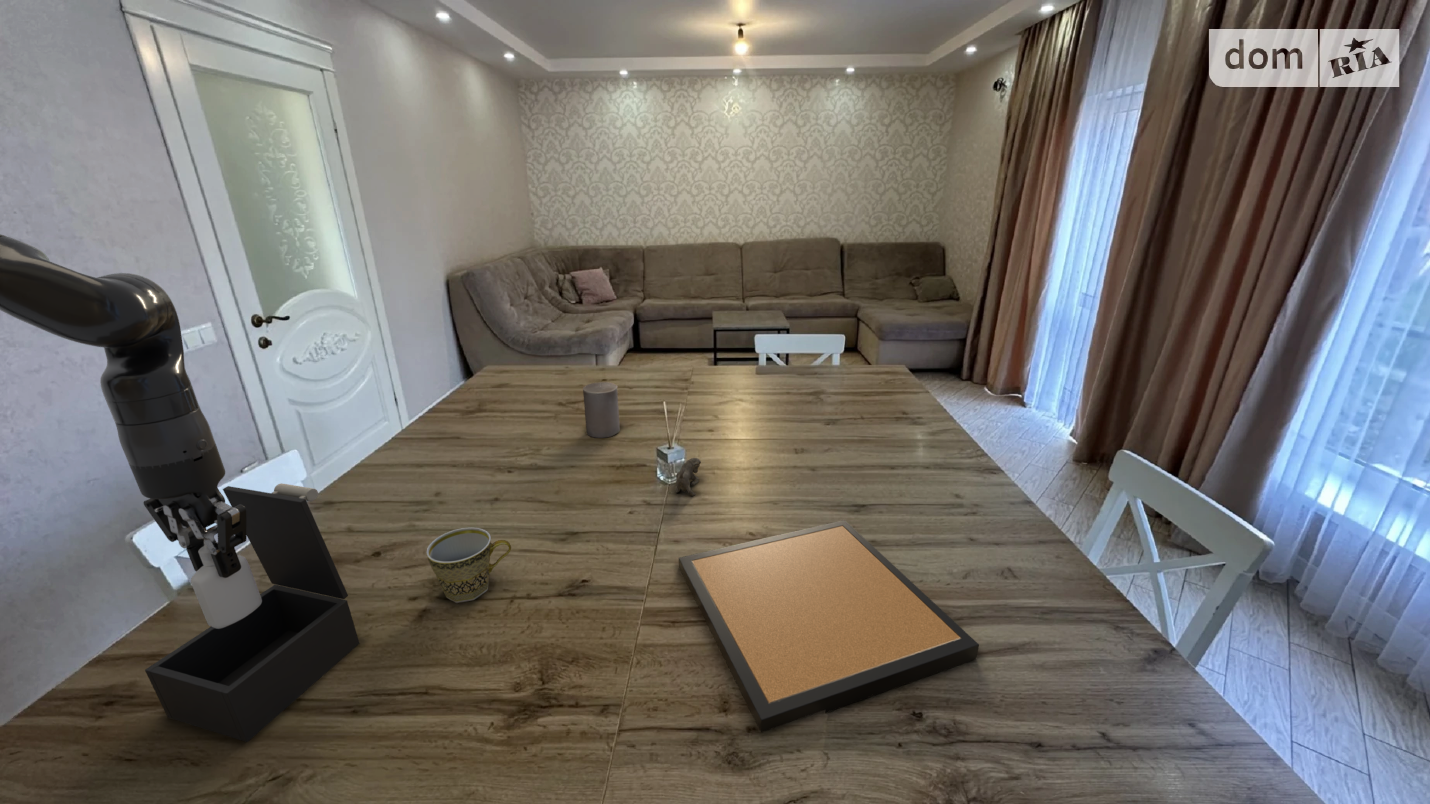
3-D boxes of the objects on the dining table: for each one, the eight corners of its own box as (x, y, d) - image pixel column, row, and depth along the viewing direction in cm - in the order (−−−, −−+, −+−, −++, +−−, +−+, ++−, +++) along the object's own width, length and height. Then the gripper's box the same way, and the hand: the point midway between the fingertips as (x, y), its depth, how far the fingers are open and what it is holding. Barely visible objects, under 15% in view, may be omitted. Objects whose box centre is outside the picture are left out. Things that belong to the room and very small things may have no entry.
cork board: (843, 531, 113) (678, 570, 101) (844, 519, 112) (678, 557, 100) (975, 659, 82) (760, 736, 70) (979, 644, 81) (761, 720, 69)
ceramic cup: (431, 617, 90) (420, 567, 87) (442, 579, 99) (432, 531, 96) (515, 603, 93) (507, 553, 90) (518, 567, 102) (511, 520, 99)
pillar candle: (585, 427, 164) (580, 379, 158) (618, 423, 166) (614, 376, 161) (588, 440, 155) (583, 390, 150) (622, 435, 158) (619, 386, 153)
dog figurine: (694, 501, 124) (694, 472, 121) (670, 498, 125) (669, 469, 123) (707, 476, 135) (706, 449, 132) (684, 474, 136) (683, 447, 133)
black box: (249, 746, 69) (226, 693, 66) (169, 721, 72) (144, 669, 69) (360, 646, 84) (347, 600, 81) (290, 629, 88) (274, 584, 85)
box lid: (300, 502, 73) (333, 480, 77) (222, 489, 76) (258, 468, 81) (344, 599, 81) (372, 574, 85) (271, 583, 84) (302, 560, 88)
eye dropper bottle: (208, 615, 73) (177, 538, 69) (262, 596, 76) (235, 522, 72) (208, 634, 70) (176, 555, 66) (264, 613, 73) (236, 537, 69)
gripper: (89, 456, 63) (144, 580, 69) (180, 471, 59) (230, 600, 65) (165, 430, 69) (210, 545, 76) (251, 442, 66) (290, 562, 72)
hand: (219, 570), depth 70 cm, fingers closed on eye dropper bottle, 3 cm apart
